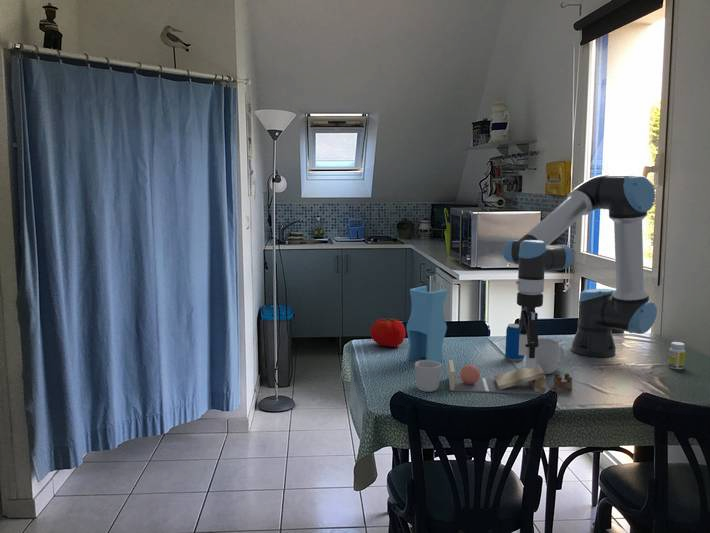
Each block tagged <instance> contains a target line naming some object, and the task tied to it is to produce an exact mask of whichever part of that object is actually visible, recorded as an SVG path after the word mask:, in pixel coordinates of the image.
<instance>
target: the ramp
mask: <svg viewBox="0 0 710 533" xmlns="http://www.w3.org/2000/svg"><path fill="white" fill-rule="evenodd" d="M494 379H496V382H497V385H498V388H499V390H501V389H504V388H507V387H511V386H514V385H518V384H521V383H524V382H528V381H530V383H531V385H532V387H533V389H534V391H535V392H545V386H546V383H547V378H546V374H544V372H543V370H542V368H541V367H540V365H539V363H538V364H536V369H530V368H526V366H525V367H522V368H519V369H515V370H513V371H512V370H511V371H508V372H505V373H503V374H499V375H496V376H494Z"/></svg>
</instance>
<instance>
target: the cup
mask: <svg viewBox="0 0 710 533" xmlns="http://www.w3.org/2000/svg"><path fill="white" fill-rule="evenodd" d="M441 371H442V362H440V363H439V362H437V361H432V360H426V359H422V360H417V361H415V362H414V374H415V375H414V376H415V384H416V388H417V390H419V391H420V392H425V393H432V392H435V391H437V390H438V389H439V385H440V378H441Z"/></svg>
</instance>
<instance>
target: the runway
mask: <svg viewBox="0 0 710 533" xmlns="http://www.w3.org/2000/svg"><path fill="white" fill-rule="evenodd" d="M455 372H456V371H455V365H454V360H453V359H448V376H447V378H448V385H449V386H448V387H449V391H450V392H465V393H466V392H467V393H469V392H470V393H486V394H487V393H488V394H489V393H491V394H516V395H518V394H519V395H538V396H541V394H544V393H545V392H547V391H549V390H551V388H550V387H549V385H548V383H547V382H546V386H545V392H535V391H534V389H533V387H532V385H531V383H530V381H528V382H524V383H521V384H518V385H514V386H511V387H507V388H504V389H501V390H499V388H498V385H497V382H496V379H495V378H489V377H488V378H486V377H480V378H479V380H478V381H477V382H476V383H474V384H466V383H464V382H463V381H462V379H461V377H460V376H459V377H457V376H456V375H455V374H456V373H455Z"/></svg>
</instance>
